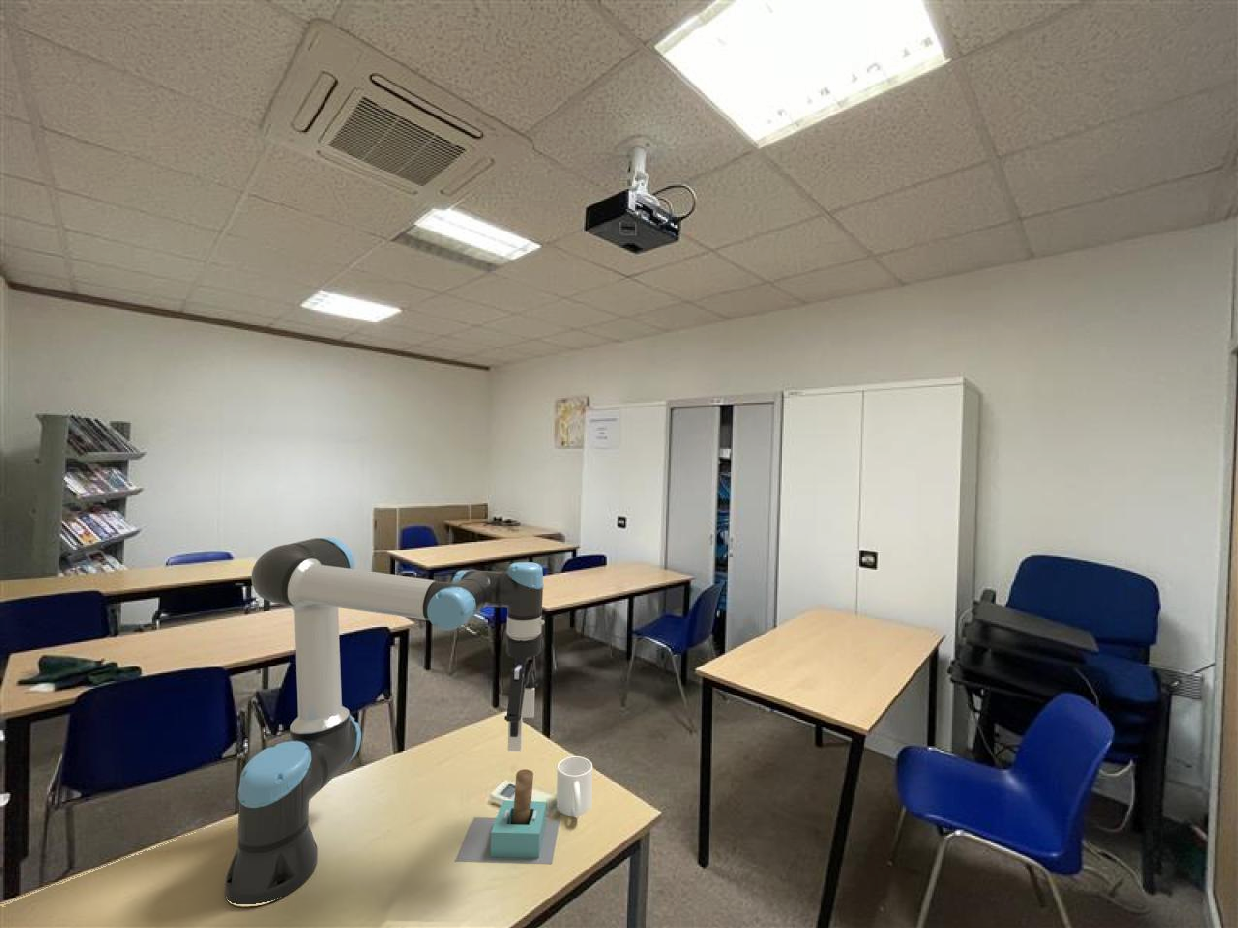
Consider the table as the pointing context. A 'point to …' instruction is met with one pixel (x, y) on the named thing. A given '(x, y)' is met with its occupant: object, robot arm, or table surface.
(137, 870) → the table surface
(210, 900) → the table surface
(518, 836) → the teal square peg holder
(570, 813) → the mug
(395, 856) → the table surface
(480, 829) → the board
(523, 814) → the wooden rounded dowel
